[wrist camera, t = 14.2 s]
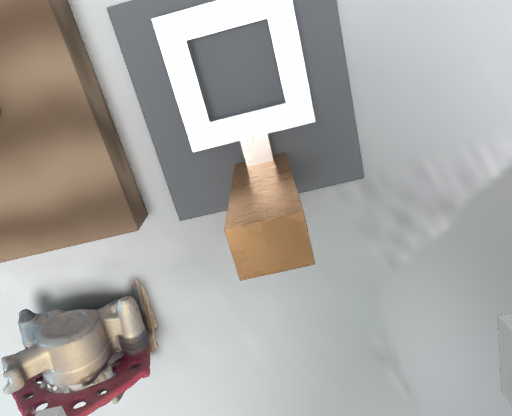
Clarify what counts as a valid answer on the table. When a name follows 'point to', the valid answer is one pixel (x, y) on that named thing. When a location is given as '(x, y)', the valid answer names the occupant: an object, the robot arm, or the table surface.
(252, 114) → the square frame with handle
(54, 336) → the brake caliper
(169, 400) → the table surface
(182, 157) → the rubber mat
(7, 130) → the wooden peg stand
